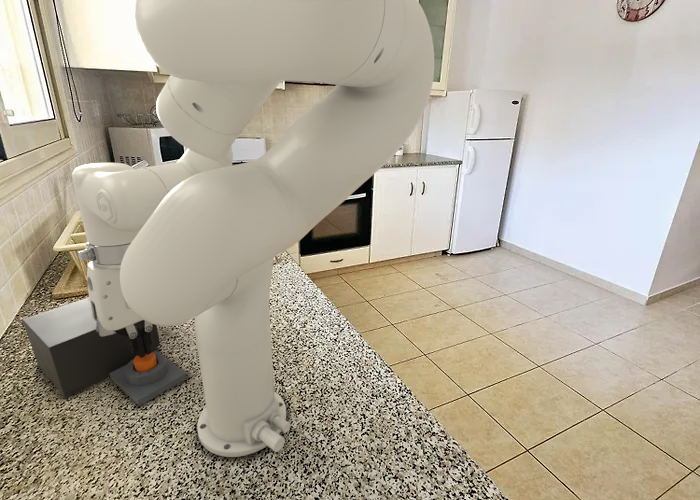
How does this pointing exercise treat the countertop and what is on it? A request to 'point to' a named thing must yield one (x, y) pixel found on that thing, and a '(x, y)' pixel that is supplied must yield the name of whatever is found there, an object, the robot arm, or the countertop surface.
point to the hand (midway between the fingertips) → (141, 352)
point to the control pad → (147, 379)
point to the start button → (145, 362)
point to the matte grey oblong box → (75, 347)
